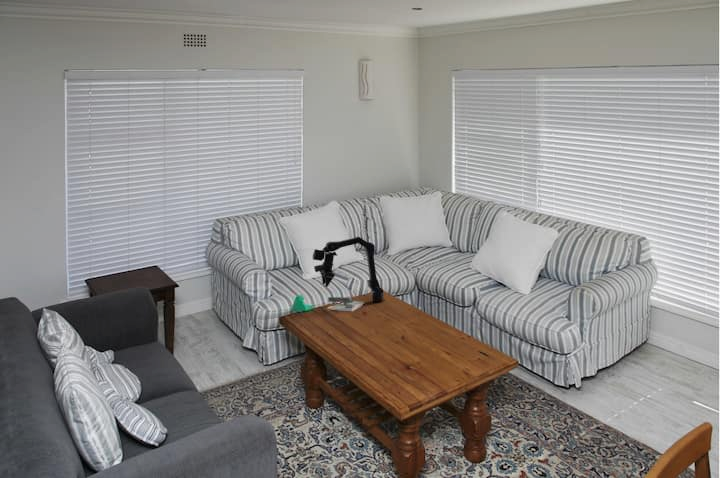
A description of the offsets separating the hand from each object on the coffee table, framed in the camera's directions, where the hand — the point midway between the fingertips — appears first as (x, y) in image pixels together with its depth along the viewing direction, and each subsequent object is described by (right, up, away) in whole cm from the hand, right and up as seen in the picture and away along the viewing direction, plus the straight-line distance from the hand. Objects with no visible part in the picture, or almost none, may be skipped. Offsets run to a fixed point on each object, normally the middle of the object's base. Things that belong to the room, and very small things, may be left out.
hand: (324, 285), depth 385 cm
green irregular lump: (-14, -17, +5) cm, 23 cm away
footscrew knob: (+10, -12, +7) cm, 17 cm away
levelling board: (+13, -14, +3) cm, 20 cm away
